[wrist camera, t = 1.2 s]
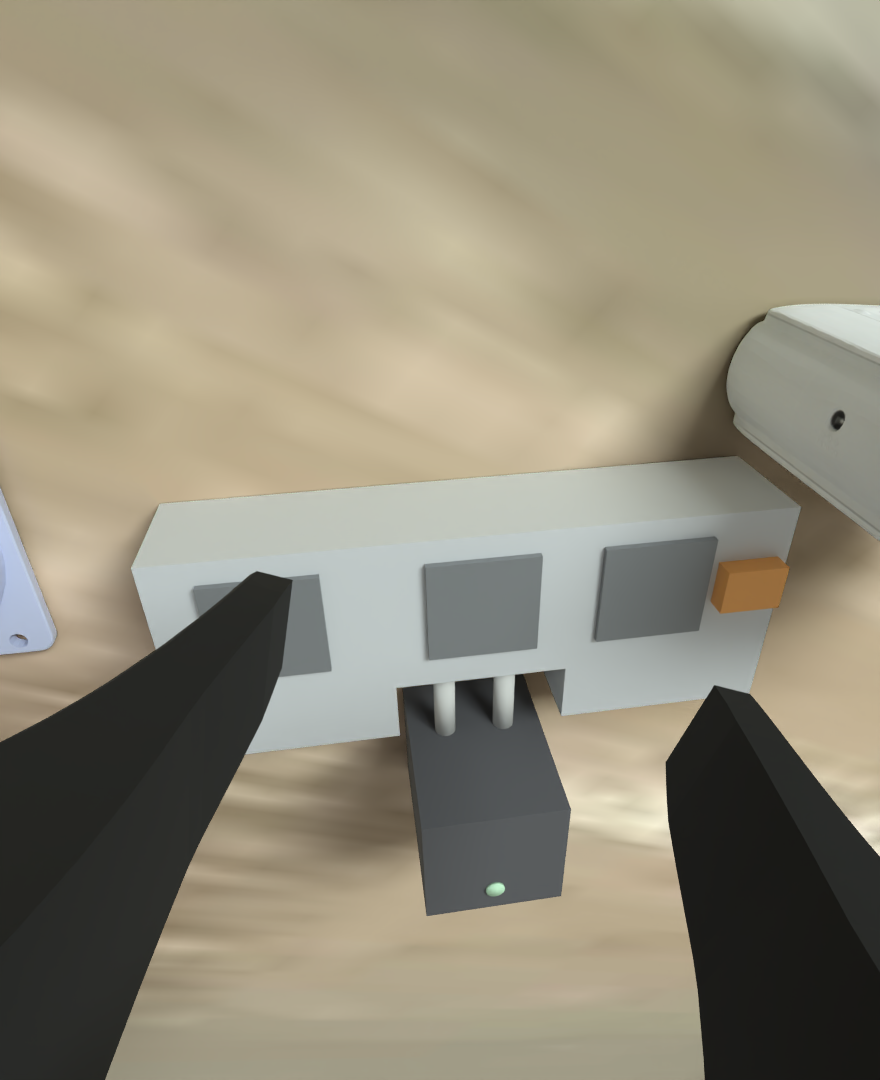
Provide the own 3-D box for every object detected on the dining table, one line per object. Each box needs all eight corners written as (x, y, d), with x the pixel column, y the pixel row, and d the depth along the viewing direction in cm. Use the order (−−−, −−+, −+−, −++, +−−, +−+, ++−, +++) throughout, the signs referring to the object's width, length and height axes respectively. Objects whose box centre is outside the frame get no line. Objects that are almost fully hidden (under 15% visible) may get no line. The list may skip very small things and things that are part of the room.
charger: (408, 770, 28) (427, 918, 22) (398, 627, 24) (418, 766, 19) (518, 756, 28) (561, 898, 23) (525, 614, 24) (579, 746, 19)
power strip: (207, 682, 24) (186, 776, 20) (159, 503, 20) (125, 581, 17) (700, 627, 26) (758, 705, 22) (737, 455, 22) (814, 517, 19)
